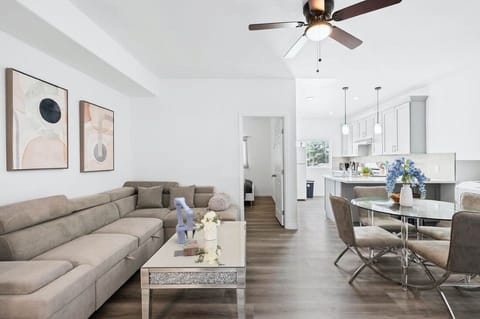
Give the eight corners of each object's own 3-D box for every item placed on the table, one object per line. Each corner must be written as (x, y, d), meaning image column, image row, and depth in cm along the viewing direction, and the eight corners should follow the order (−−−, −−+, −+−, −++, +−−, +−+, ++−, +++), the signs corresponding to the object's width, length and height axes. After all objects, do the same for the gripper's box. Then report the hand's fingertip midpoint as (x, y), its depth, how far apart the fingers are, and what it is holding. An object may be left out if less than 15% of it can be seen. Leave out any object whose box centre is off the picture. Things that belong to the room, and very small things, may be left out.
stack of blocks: (197, 247, 241) (183, 248, 239) (197, 240, 241) (183, 241, 239) (198, 254, 220) (183, 255, 218) (198, 247, 220) (183, 248, 218)
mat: (174, 251, 232) (174, 250, 232) (206, 248, 238) (206, 248, 238) (174, 256, 218) (174, 256, 218) (207, 253, 224) (207, 253, 224)
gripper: (182, 225, 238) (182, 240, 238) (198, 224, 241) (198, 239, 241) (182, 223, 245) (182, 238, 245) (197, 222, 248) (197, 237, 248)
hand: (190, 238), depth 243 cm, fingers open, 4 cm apart
